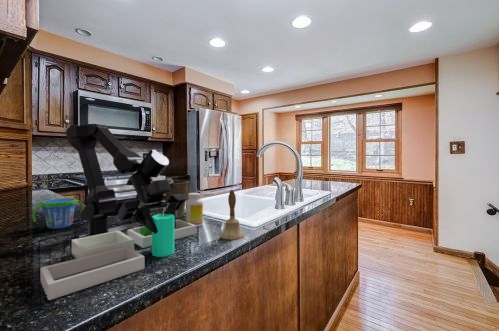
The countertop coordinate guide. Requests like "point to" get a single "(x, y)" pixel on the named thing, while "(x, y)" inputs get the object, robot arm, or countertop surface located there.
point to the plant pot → (178, 189)
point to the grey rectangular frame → (91, 277)
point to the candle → (163, 235)
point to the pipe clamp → (145, 231)
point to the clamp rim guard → (146, 241)
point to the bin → (100, 243)
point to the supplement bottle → (194, 209)
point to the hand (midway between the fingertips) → (166, 230)
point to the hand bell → (232, 222)
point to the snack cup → (58, 212)
